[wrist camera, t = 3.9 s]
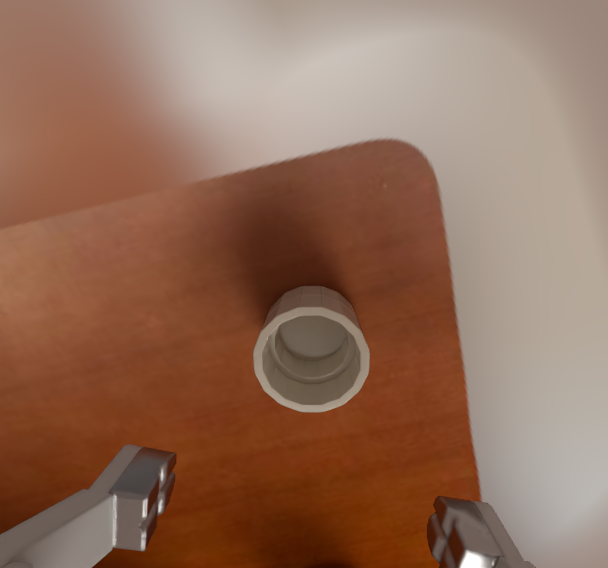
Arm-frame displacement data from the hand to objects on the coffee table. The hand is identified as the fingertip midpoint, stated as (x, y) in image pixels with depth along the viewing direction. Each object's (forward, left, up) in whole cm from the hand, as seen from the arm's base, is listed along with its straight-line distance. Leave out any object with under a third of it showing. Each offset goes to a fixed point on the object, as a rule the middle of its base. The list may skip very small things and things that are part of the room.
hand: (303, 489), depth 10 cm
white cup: (0, 0, -13) cm, 13 cm away
